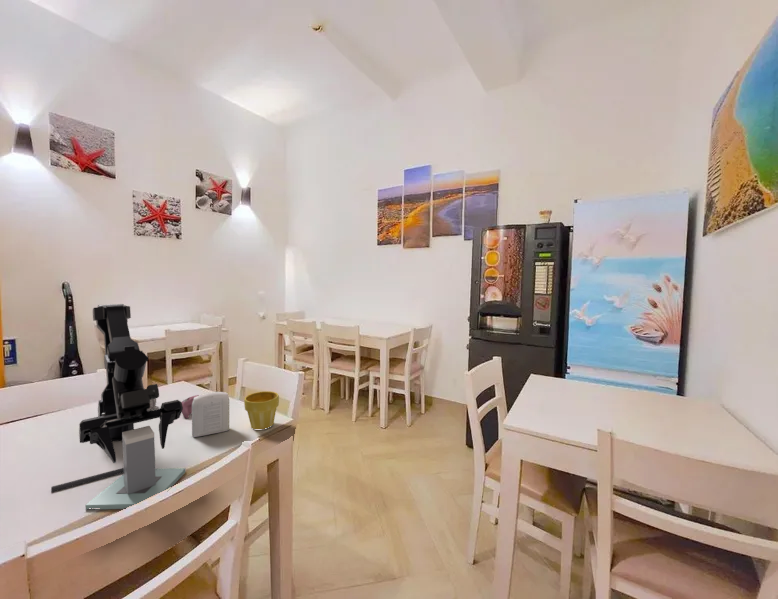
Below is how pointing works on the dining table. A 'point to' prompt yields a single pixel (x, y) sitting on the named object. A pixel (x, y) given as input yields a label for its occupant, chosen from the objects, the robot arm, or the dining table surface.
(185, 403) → the video game controller
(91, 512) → the dining table surface
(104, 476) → the dark grey bar
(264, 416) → the plant pot
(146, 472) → the light grey rectangular block
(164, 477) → the teal flat square slab
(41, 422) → the dining table surface
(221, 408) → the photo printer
